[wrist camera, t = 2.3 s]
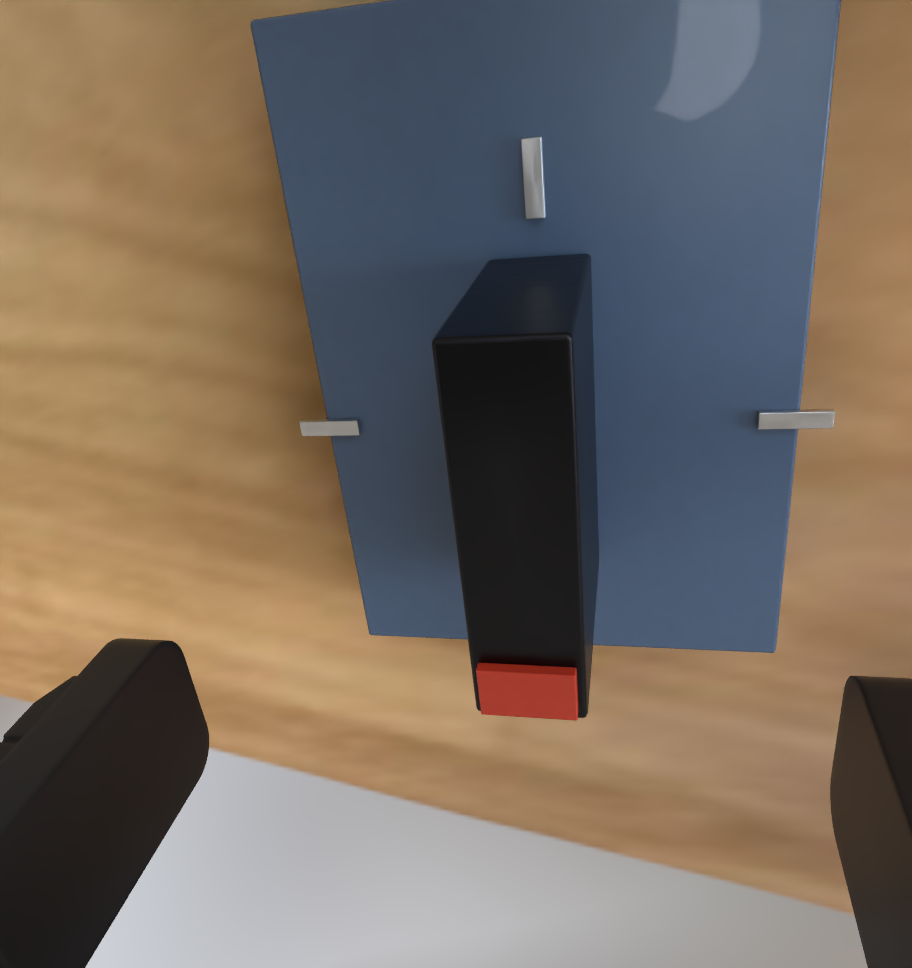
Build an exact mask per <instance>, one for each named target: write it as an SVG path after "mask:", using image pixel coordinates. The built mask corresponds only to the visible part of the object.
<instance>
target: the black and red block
mask: <svg viewBox="0 0 912 968" xmlns="http://www.w3.org/2000/svg"><path fill="white" fill-rule="evenodd" d="M431 345H432V353H433V361H434V369H435V377H436V385H437V393H438V401H439V409H440V417H441V425H442V433H443V441H444V449H445V457H446V465H447V473H448V482H449V490H450V498H451V506H452V514H453V522H454V530H455V538H456V546H457V554H458V562H459V570H460V578H461V586H462V594H463V602H464V610H465V619H466V627H467V635H468V643H469V651H470V659H471V667H472V675H473V683H474V691H475V699H476V706H477V709H478V710H479V711H481V714H486V715H501V716H516V717H532V718H547V719H562V720H577V719H578V718H584V717H586V715H587V713H588V704H589V690H590V677H591V664H592V650H593V637H594V624H595V610H596V597H597V583H598V570H599V536H598V499H597V462H596V425H595V388H594V351H593V314H592V278H591V257H590V255H588V254H573V255H557V256H542V257H526V258H511V259H495V260H490V261H488V262H487V263H486V265H485V266H484V267H483V269H482V270H481V272H480V273H479V275H478V276H477V277H476V279H475V280H474V282H473V283H472V284H471V286H470V287H469V289H468V290H467V292H466V293H465V294H464V296H463V297H462V299H461V300H460V301H459V303H458V304H457V306H456V307H455V309H454V310H453V311H452V313H451V314H450V316H449V317H448V318H447V320H446V321H445V323H444V324H443V325H442V327H441V328H440V330H439V331H438V333H437V334H436V335H435V337H434V338H433V340H432V344H431Z"/></svg>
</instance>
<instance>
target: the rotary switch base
mask: <svg viewBox="0 0 912 968" xmlns="http://www.w3.org/2000/svg"><path fill="white" fill-rule="evenodd" d="M840 6H841V0H389V1H382V2H375V3H368V4H361V5H354V6H347V7H340V8H333V9H326V10H319V11H312V12H305V13H298V14H291V15H284V16H277V17H270V18H263V19H256V20H253V21H251V30H252V35H253V40H254V45H255V50H256V55H257V61H258V66H259V71H260V76H261V81H262V86H263V91H264V96H265V101H266V107H267V112H268V117H269V122H270V127H271V132H272V137H273V142H274V148H275V153H276V158H277V163H278V168H279V173H280V178H281V183H282V189H283V194H284V199H285V204H286V209H287V214H288V219H289V224H290V230H291V235H292V240H293V245H294V250H295V255H296V260H297V265H298V271H299V276H300V281H301V286H302V291H303V296H304V301H305V306H306V312H307V317H308V322H309V327H310V332H311V337H312V342H313V347H314V353H315V358H316V363H317V368H318V373H319V378H320V383H321V388H322V394H323V399H324V404H325V409H326V414H327V419H303V420H301V421H300V422H299V424H300V429H301V434H302V436H331V440H332V445H333V450H334V455H335V460H336V465H337V470H338V476H339V481H340V486H341V491H342V496H343V501H344V506H345V511H346V517H347V522H348V527H349V532H350V537H351V542H352V547H353V552H354V557H355V563H356V568H357V573H358V578H359V583H360V588H361V593H362V598H363V604H364V609H365V614H366V619H367V624H368V629H369V634H370V635H381V636H403V637H426V638H449V639H468V635H467V627H466V619H465V610H464V602H463V594H462V586H461V578H460V570H459V562H458V554H457V546H456V538H455V530H454V522H453V514H452V506H451V498H450V490H449V482H448V473H447V465H446V457H445V449H444V441H443V433H442V425H441V417H440V409H439V401H438V393H437V385H436V377H435V369H434V361H433V353H432V345H431V344H432V340H433V338H434V337H435V335H436V334H437V333H438V331H439V330H440V328H441V327H442V325H443V324H444V323H445V321H446V320H447V318H448V317H449V316H450V314H451V313H452V311H453V310H454V309H455V307H456V306H457V304H458V303H459V301H460V300H461V299H462V297H463V296H464V294H465V293H466V292H467V290H468V289H469V287H470V286H471V284H472V283H473V282H474V280H475V279H476V277H477V276H478V275H479V273H480V272H481V270H482V269H483V267H484V266H485V265H486V263H487V262H488V261H490V260H495V259H511V258H526V257H542V256H557V255H573V254H588V255H590V257H591V278H592V314H593V351H594V388H595V425H596V462H597V499H598V536H599V570H598V583H597V597H596V610H595V624H594V637H593V645H608V646H631V647H653V648H676V649H699V650H721V651H744V652H767V653H773V652H775V650H776V642H777V632H778V622H779V612H780V602H781V592H782V582H783V572H784V562H785V552H786V542H787V533H788V523H789V513H790V503H791V493H792V483H793V473H794V463H795V453H796V443H797V433H798V429H817V428H833V425H834V416H835V411H834V409H803V410H800V403H801V393H802V383H803V374H804V364H805V354H806V344H807V334H808V324H809V314H810V304H811V294H812V284H813V274H814V264H815V254H816V244H817V234H818V225H819V215H820V205H821V195H822V185H823V175H824V165H825V155H826V145H827V135H828V125H829V115H830V105H831V95H832V85H833V76H834V66H835V56H836V46H837V36H838V26H839V16H840Z"/></svg>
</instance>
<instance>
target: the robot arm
mask: <svg viewBox="0 0 912 968" xmlns="http://www.w3.org/2000/svg"><path fill="white" fill-rule="evenodd" d="M208 750H209V732H208V727H207V724H206V721H205V718H204V715H203V712H202V709H201V706H200V703H199V700H198V697H197V694H196V691H195V688H194V684H193V681H192V678H191V675H190V672H189V669H188V666H187V663H186V660H185V657H184V654H183V652H182V650H181V648H180V647H179V646H178V645H177V644H176V643H175V642H173V641H165V640H144V639H123V638H120V639H115V640H112V641H111V642H109V643H108V644H107V645H105V646H104V647H103V648H102V650H101V651H100V652H99V653H98V654H97V655H96V656H95V657H94V658H93V659H92V661H91V662H90V663H89V664H88V665H87V666H86V667H85V668H84V669H83V671H82V672H81V673H80V674H79V675H78V676H73V677H71V678H70V679H69V680H67V681H66V682H64V683H63V684H61V685H60V686H58V687H57V688H55V689H54V690H52V691H51V692H49V693H48V694H46V695H45V696H43V697H42V698H41V699H39V700H38V701H36V702H35V703H33V704H32V706H31V707H30V708H29V709H28V710H27V711H26V712H25V713H24V714H23V715H22V717H20V718H19V719H18V721H17V722H16V723H15V724H14V725H13V726H12V727H11V728H10V729H9V730H8V731H7V732H6V733H5V734H4V739H3V741H2V743H1V742H0V968H85V967H86V965H87V963H88V962H89V960H90V958H91V957H92V955H93V954H94V951H95V950H96V949H97V947H98V945H99V944H100V942H101V940H102V938H103V937H104V935H105V934H106V932H107V931H108V929H109V927H110V926H111V924H112V922H113V920H114V919H115V917H116V916H117V914H118V912H119V911H120V909H121V907H122V906H123V904H124V903H125V901H126V899H127V898H128V896H129V894H130V893H131V891H132V889H133V888H134V886H135V884H136V883H137V881H138V879H139V878H140V876H141V875H142V873H143V871H144V870H145V868H146V866H147V864H148V863H149V861H150V860H151V858H152V856H153V854H154V853H155V851H156V850H157V848H158V846H159V845H160V843H161V841H162V840H163V838H164V836H165V835H166V833H167V832H168V830H169V828H170V827H171V825H172V823H173V822H174V820H175V818H176V817H177V815H178V813H179V812H180V810H181V808H182V807H183V805H184V804H185V802H186V800H187V798H188V797H189V795H190V794H191V792H192V790H193V789H194V787H195V786H196V784H197V782H198V781H199V779H200V777H201V775H202V773H203V770H204V767H205V764H206V761H207V757H208ZM830 800H831V814H832V822H833V829H834V834H835V839H836V843H837V847H838V851H839V855H840V859H841V863H842V867H843V871H844V875H845V879H846V883H847V887H848V891H849V894H850V898H851V902H852V906H853V910H854V914H855V918H856V922H857V926H858V930H859V934H860V938H861V942H862V946H863V950H864V954H865V958H866V962H867V966H868V968H912V679H908V678H887V677H866V676H850V677H849V678H848V679H847V681H846V684H845V688H844V694H843V701H842V707H841V714H840V720H839V727H838V734H837V740H836V747H835V754H834V760H833V767H832V773H831V785H830Z"/></svg>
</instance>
